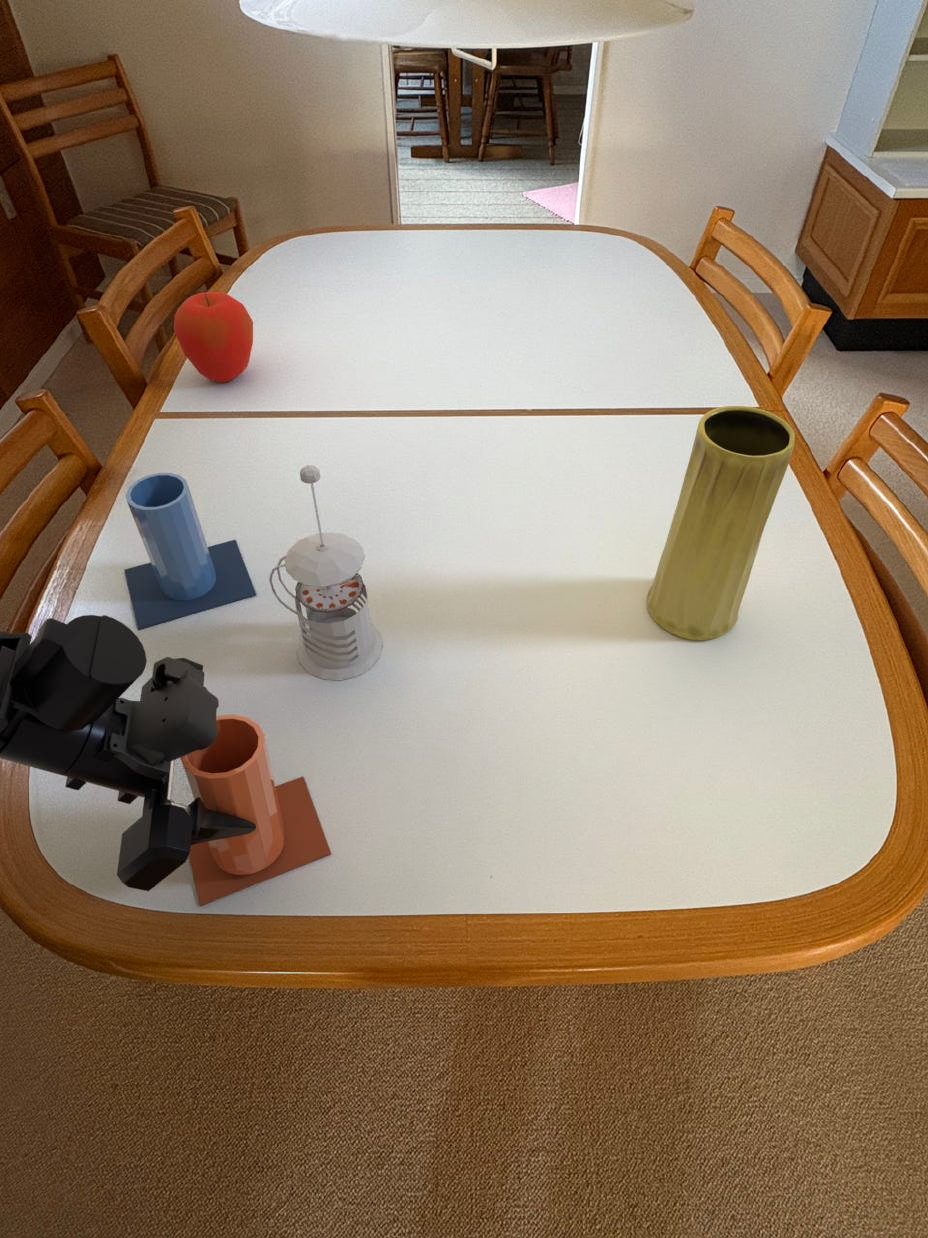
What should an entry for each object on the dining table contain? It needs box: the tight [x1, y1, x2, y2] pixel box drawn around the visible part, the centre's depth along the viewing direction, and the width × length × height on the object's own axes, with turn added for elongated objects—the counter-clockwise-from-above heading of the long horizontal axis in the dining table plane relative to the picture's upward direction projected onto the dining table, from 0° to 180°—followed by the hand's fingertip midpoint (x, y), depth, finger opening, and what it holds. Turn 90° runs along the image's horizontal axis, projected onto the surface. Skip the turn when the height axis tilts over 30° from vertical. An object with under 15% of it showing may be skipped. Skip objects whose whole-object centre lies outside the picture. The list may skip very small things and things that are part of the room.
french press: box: [268, 464, 384, 682], centre depth 81 cm, size 10×12×25 cm
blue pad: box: [124, 539, 257, 631], centre depth 97 cm, size 14×11×1 cm
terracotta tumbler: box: [179, 714, 285, 875], centre depth 68 cm, size 7×7×14 cm
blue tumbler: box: [125, 472, 216, 601], centre depth 92 cm, size 7×7×14 cm
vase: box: [646, 405, 796, 641], centre depth 85 cm, size 11×11×25 cm
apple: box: [173, 291, 254, 384], centre depth 125 cm, size 12×12×14 cm
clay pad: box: [188, 775, 332, 907], centre depth 74 cm, size 12×9×1 cm
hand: (253, 792), depth 68 cm, fingers closed on terracotta tumbler, 7 cm apart
